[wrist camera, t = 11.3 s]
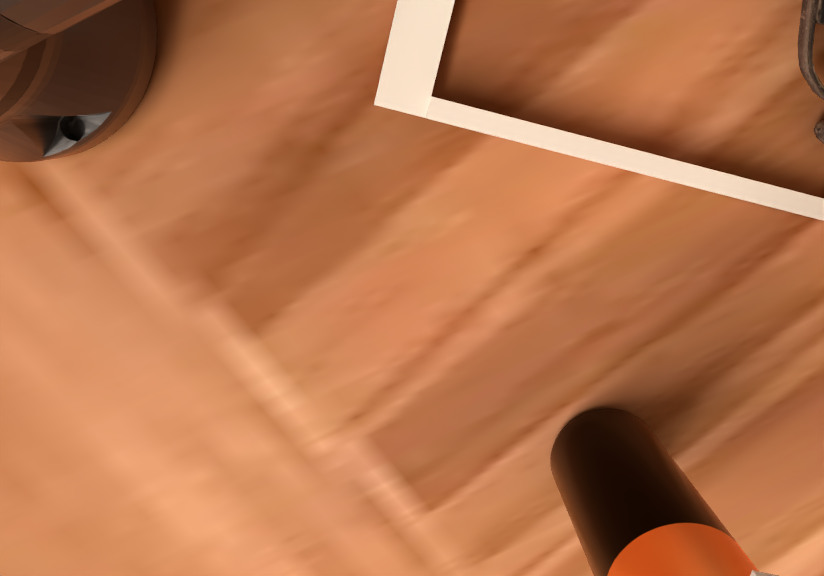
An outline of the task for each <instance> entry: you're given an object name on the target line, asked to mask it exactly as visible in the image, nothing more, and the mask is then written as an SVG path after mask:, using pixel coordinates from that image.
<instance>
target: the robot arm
mask: <svg viewBox="0 0 824 576" xmlns="http://www.w3.org/2000/svg"><path fill="white" fill-rule="evenodd" d="M156 46H157V24H156V14H155V8H154V3H153V0H0V161H7V162H35V161H43V160H49V159H56V158H61V157H66V156H70V155H74V154H77V153H80V152H83V151H85V150H87V149H89V148H92V147H93V146H95V145H97V144H99V143H101V142H102V141H104V140H105V139H107V138H108V137H109V136H111V135H112V134H113V133H114V132H116V131H117V130H118V129H119V128H120V127H121V126H122V125H123V124H124V123H125V122H126V121H127V119H128V118H129V117H130V116H131V114H132V113H133V112H134V110H135V109H136V107H137V106H138V104H139V102H140V101H141V99H142V97H143V95H144V93H145V91H146V88H147V86H148V83H149V80H150V77H151V74H152V70H153V67H154V61H155V56H156ZM750 576H778V575H773V574H768V573H763V572H759V571H754V570H752V572H751V574H750Z"/></svg>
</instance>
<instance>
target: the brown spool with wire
mask: <svg viewBox="0 0 824 576" xmlns="http://www.w3.org/2000/svg"><path fill="white" fill-rule="evenodd" d="M815 23H818V24H820V25H824V0H803V2H802V10H801V18H800V26H799V36H798V58H799V66H800V70H801V72H802V74H803V76H804V78H805V80H806V81H807V83H808V84H809V86H810V87H811V89H812V91H813V92H814V93H816V94H817V95H818V96H819V97H820V98H822V99H824V86H823V84H822V83H821V81H820V80H819V78H818V77H817V74H816V72H815V70H814V64H813V41H814V31H815ZM814 132H815V135H816V137H817V138H818V139H819V140H820V141H821V142H823V143H824V120H822V121H820V122H819V123H817V124H816V126H815V128H814Z"/></svg>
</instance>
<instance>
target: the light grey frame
mask: <svg viewBox="0 0 824 576" xmlns="http://www.w3.org/2000/svg"><path fill="white" fill-rule="evenodd" d="M454 2H455V0H398V1H397V6H396V10H395V14H394V19H393V23H392V28H391V32H390V36H389V41H388V45H387V50H386V54H385V58H384V63H383V67H382V72H381V76H380V80H379V85H378V89H377V94H376V98H375V103H374V105H377V106H381V107H385V108H389V109H393V110H397V111H400V112H404V113H408V114H412V115H416V116H420V117H424V118H427V119H431V120H435V121H439V122H442V123H446V124H450V125H454V126H458V127H462V128H466V129H470V130H473V131H477V132H481V133H485V134H489V135H493V136H497V137H501V138H505V139H508V140H512V141H516V142H520V143H524V144H528V145H532V146H536V147H539V148H543V149H547V150H551V151H555V152H559V153H563V154H567V155H571V156H574V157H578V158H582V159H586V160H590V161H594V162H598V163H602V164H605V165H609V166H613V167H617V168H621V169H625V170H629V171H633V172H637V173H640V174H644V175H648V176H652V177H656V178H660V179H664V180H668V181H671V182H675V183H679V184H683V185H687V186H691V187H695V188H699V189H702V190H706V191H710V192H714V193H718V194H722V195H726V196H730V197H734V198H737V199H741V200H745V201H749V202H753V203H757V204H761V205H765V206H768V207H772V208H776V209H780V210H784V211H788V212H792V213H796V214H800V215H803V216H807V217H811V218H815V219H819V220H823V221H824V199H823V198H820V197H816V196H812V195H808V194H804V193H800V192H796V191H793V190H789V189H785V188H781V187H777V186H773V185H770V184H766V183H762V182H758V181H754V180H750V179H747V178H743V177H739V176H735V175H731V174H727V173H724V172H720V171H716V170H712V169H708V168H704V167H701V166H697V165H693V164H689V163H685V162H681V161H677V160H674V159H670V158H666V157H662V156H658V155H654V154H651V153H647V152H643V151H639V150H635V149H631V148H628V147H624V146H620V145H616V144H612V143H608V142H605V141H601V140H597V139H593V138H589V137H585V136H582V135H578V134H574V133H570V132H566V131H562V130H558V129H555V128H551V127H547V126H543V125H539V124H535V123H532V122H528V121H524V120H520V119H516V118H512V117H509V116H505V115H501V114H497V113H493V112H489V111H486V110H482V109H478V108H474V107H470V106H466V105H463V104H459V103H455V102H451V101H447V100H443V99H439V98H436V97H431V95H432V91H433V87H434V83H435V79H436V75H437V71H438V67H439V63H440V59H441V55H442V50H443V46H444V42H445V38H446V34H447V30H448V26H449V22H450V18H451V14H452V10H453V6H454Z"/></svg>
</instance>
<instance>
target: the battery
mask: <svg viewBox="0 0 824 576" xmlns="http://www.w3.org/2000/svg"><path fill="white" fill-rule="evenodd" d="M551 470H552V473H553V476H554V479H555V482H556V484H557V486H558V489H559V491H560V494H561V496H562V499H563V501H564V504H565V506H566V509H567V511H568V513H569V516H570V518H571V521H572V523H573V526H574V528H575V531H576V533H577V535H578V538H579V540H580V543H581V545H582V548H583V550H584V553H585V555H586V557H587V560H588V562H589V565H590V567H591V570H592V572H593V574H594V576H750V574H751V572H752V570H754V571H758V570H757V568H756V567H755V566H754V564H753V563H752V562H751V560H750V559H749V558H748V556H747V555H746V554H745V553H744V551H743V550H742V549H741V547H740V546H739V545H738V543H737V542H736V541H735V539H734V538H733V537H732V536H731V534H730V533H729V532H728V530H727V529H726V528H725V526H724V525H723V524H722V523H721V521H720V520H719V519H718V517H717V516H716V515H715V513H714V512H713V511H712V509H711V508H710V507H709V506H708V504H707V503H706V502H705V500H704V499H703V498H702V496H701V495H700V494H699V492H698V491H697V490H696V489H695V487H694V486H693V485H692V483H691V482H690V481H689V479H688V478H687V477H686V476H685V474H684V473H683V472H682V470H681V469H680V468H679V466H678V465H677V464H676V462H675V461H674V460H673V459H672V457H671V456H670V455H669V453H668V452H667V451H666V449H665V448H664V447H663V446H662V444H661V443H660V442H659V440H658V439H657V438H656V436H655V435H654V434H653V433H652V431H651V430H650V429H649V427H648V426H647V425H646V424H645V423H644V422H643V421H642V420H640V419H639V418H638V417H636V416H634V415H633V414H630V413H628V412H625V411H622V410H617V409H599V410H594V411H590V412H587V413H585V414H583V415H581V416H579V417H577V418H575V419H574V420H572V421H571V422H570V423H569V424H567V425H566V426H565V427H564V429H563V430H562V431H561V432H560V434H559V435H558V437H557V438H556V440H555V442H554V445H553V448H552V452H551Z"/></svg>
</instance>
